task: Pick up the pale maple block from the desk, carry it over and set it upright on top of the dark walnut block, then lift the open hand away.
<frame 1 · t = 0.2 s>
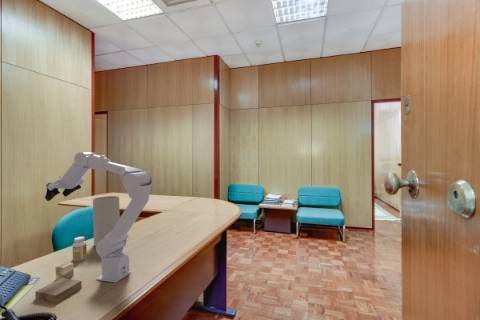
hand: (56, 197, 98), 31 cm above the table, tool tilted 45°, fingers open, 7 cm apart
cylinder vase: (107, 243, 128), on the table
supplement bottle: (79, 259, 109), on the table
walnut block: (59, 294, 81), on the table
maple block: (64, 277, 92), on the table
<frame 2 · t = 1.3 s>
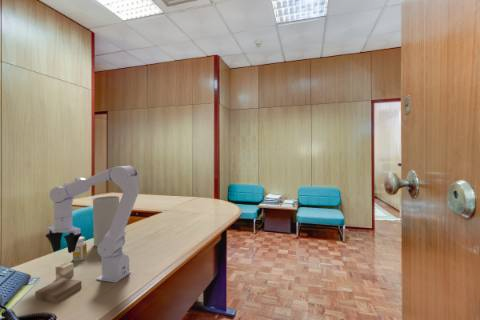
hand: (64, 251, 92), 10 cm above the table, tool pointing down, fingers open, 7 cm apart
nothing on the table moved.
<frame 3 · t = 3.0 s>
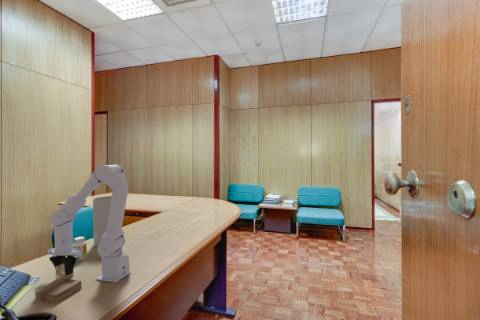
hand: (64, 273, 92), 1 cm above the table, tool pointing down, fingers closed on maple block, 4 cm apart
maple block: (64, 277, 92), on the table, touching gripper
everything else where it was.
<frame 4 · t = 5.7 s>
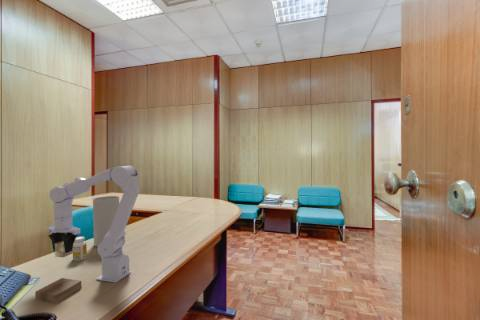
hand: (64, 251, 92), 10 cm above the table, tool pointing down, fingers closed on maple block, 4 cm apart
maple block: (64, 254, 92), point 9 cm above the table, touching gripper
everything else where it was.
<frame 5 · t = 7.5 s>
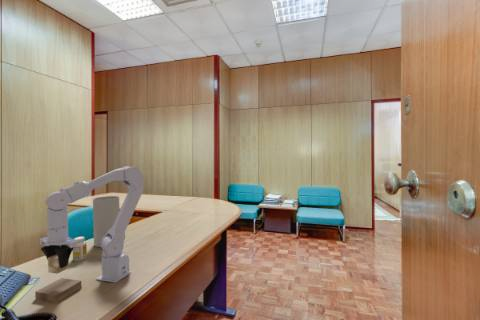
hand: (58, 266, 81), 10 cm above the table, tool pointing down, fingers closed on maple block, 4 cm apart
maple block: (58, 270, 81), point 8 cm above the table, touching gripper
everything else where it was.
when the fingers open (5 cm above the table, at t = 8.7 s): maple block drops 1 cm, resting on walnut block.
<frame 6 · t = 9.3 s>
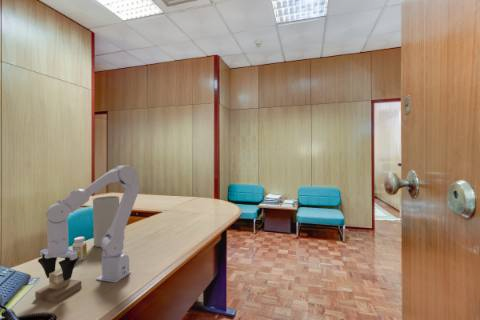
hand: (59, 277, 81), 5 cm above the table, tool pointing down, fingers open, 7 cm apart
walnut block: (59, 294, 81), on the table, touching maple block
maple block: (59, 285, 81), point 2 cm above the table, touching walnut block
everything else where it was.
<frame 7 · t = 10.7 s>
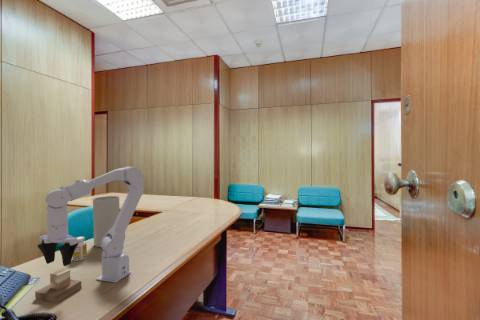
hand: (58, 263, 81), 10 cm above the table, tool pointing down, fingers open, 7 cm apart
walnut block: (59, 294, 81), on the table
maple block: (60, 285, 81), point 2 cm above the table
everything else where it was.
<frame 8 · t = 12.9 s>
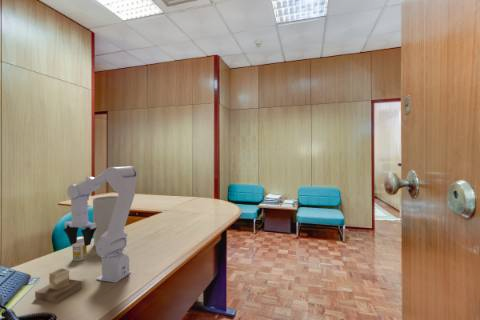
hand: (80, 244, 99), 10 cm above the table, tool pointing down, fingers open, 7 cm apart
nothing on the table moved.
at the end: maple block 0.1 cm off-centre on the walnut block, point 3.0 cm above the walnut block's base; maple block tilted 0°; the gripper is holding nothing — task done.
